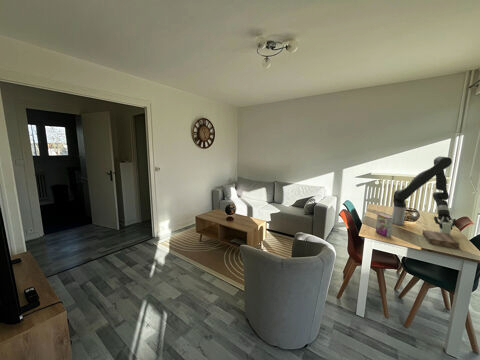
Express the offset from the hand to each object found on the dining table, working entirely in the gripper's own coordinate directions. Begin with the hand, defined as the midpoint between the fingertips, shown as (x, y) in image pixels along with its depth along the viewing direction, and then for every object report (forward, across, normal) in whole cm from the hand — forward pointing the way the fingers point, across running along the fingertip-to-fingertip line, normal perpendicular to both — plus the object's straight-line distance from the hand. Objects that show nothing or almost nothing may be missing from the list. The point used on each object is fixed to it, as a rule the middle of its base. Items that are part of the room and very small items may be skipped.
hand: (446, 229), depth 170 cm
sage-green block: (+2, 0, +5) cm, 6 cm away
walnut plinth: (+16, -8, -7) cm, 19 cm away
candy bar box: (+21, -45, -12) cm, 51 cm away
